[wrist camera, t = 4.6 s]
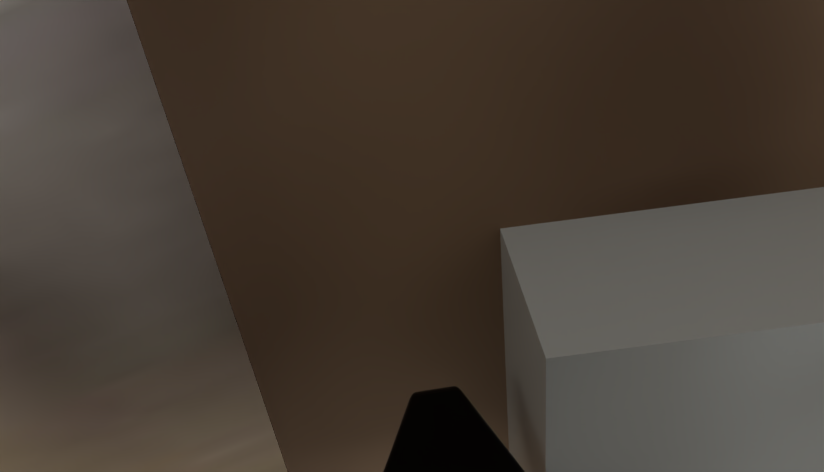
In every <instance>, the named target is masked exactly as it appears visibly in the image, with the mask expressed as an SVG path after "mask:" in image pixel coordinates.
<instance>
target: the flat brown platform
mask: <svg viewBox="0 0 824 472" xmlns="http://www.w3.org/2000/svg"><path fill="white" fill-rule="evenodd" d="M127 3H128V5H129V8H130V11H131V14H132V17H133V20H134V23H135V26H136V29H137V32H138V35H139V38H140V41H141V44H142V46H143V49H144V52H145V55H146V58H147V61H148V64H149V67H150V70H151V73H152V76H153V79H154V82H155V85H156V87H157V90H158V93H159V96H160V99H161V102H162V105H163V108H164V111H165V114H166V117H167V120H168V123H169V125H170V128H171V131H172V134H173V137H174V140H175V143H176V146H177V149H178V152H179V155H180V158H181V161H182V164H183V166H184V169H185V172H186V175H187V178H188V181H189V184H190V187H191V190H192V193H193V196H194V199H195V202H196V204H197V207H198V210H199V213H200V216H201V219H202V222H203V225H204V228H205V231H206V234H207V237H208V240H209V243H210V245H211V248H212V251H213V254H214V257H215V260H216V263H217V266H218V269H219V272H220V275H221V278H222V281H223V284H224V286H225V289H226V292H227V295H228V298H229V301H230V304H231V307H232V310H233V313H234V316H235V319H236V322H237V324H238V327H239V330H240V333H241V336H242V339H243V342H244V345H245V348H246V351H247V354H248V357H249V360H250V363H251V365H252V368H253V371H254V374H255V377H256V380H257V383H258V386H259V389H260V392H261V395H262V398H263V401H264V404H265V406H266V409H267V412H268V415H269V418H270V421H271V424H272V427H273V430H274V433H275V436H276V439H277V442H278V444H279V447H280V450H281V453H282V456H283V459H284V462H285V465H286V468H287V471H288V472H383V471H384V468H385V466H386V463H387V460H388V457H389V455H390V452H391V449H392V446H393V443H394V441H395V438H396V435H397V432H398V430H399V427H400V424H401V421H402V418H403V416H404V413H405V410H406V407H407V405H408V402H409V399H410V397H411V395H412V394H413V393H414V392H419V391H425V390H432V389H438V388H445V387H451V386H456V387H458V388H460V389H461V390H462V392H463V393H464V394H465V396H466V397H467V398H468V399H469V401H470V402H471V403H472V405H473V406H474V407H475V408H476V410H477V411H478V412H479V413H480V415H481V416H482V417H483V419H484V420H485V421H486V422H487V424H488V425H489V426H490V428H491V429H492V430H493V431H494V433H495V434H496V435H497V437H498V438H499V439H500V440H501V442H502V443H503V444H504V446H505V447H506V448H507V449H508V451H509V439H508V414H507V390H506V365H505V340H504V315H503V290H502V265H501V241H500V229H501V228H508V227H516V226H524V225H532V224H539V223H547V222H555V221H563V220H571V219H578V218H586V217H594V216H602V215H609V214H617V213H625V212H633V211H640V210H648V209H656V208H664V207H672V206H679V205H687V204H695V203H703V202H710V201H718V200H726V199H734V198H742V197H749V196H757V195H765V194H773V193H780V192H788V191H796V190H804V189H811V188H819V187H824V0H127Z"/></svg>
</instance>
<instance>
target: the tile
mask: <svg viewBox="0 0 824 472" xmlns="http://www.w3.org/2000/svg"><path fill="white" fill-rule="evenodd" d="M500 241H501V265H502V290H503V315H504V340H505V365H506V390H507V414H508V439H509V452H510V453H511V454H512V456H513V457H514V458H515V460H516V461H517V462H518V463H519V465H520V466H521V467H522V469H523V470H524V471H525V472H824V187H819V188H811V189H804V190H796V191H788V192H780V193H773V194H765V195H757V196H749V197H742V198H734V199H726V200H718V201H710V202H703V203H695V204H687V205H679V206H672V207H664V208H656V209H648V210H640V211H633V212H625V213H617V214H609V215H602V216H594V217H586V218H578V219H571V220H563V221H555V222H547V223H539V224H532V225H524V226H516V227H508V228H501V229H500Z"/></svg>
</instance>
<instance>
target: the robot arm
mask: <svg viewBox="0 0 824 472" xmlns="http://www.w3.org/2000/svg"><path fill="white" fill-rule="evenodd" d="M383 472H525V471H524V470H523V469H522V467H521V466H520V465H519V463H518V462H517V461H516V460H515V458H514V457H513V456H512V454H511V453H510V452H509V451H508V449H507V448H506V447H505V446H504V444H503V443H502V442H501V440H500V439H499V438H498V437H497V435H496V434H495V433H494V431H493V430H492V429H491V428H490V426H489V425H488V424H487V422H486V421H485V420H484V419H483V417H482V416H481V415H480V413H479V412H478V411H477V410H476V408H475V407H474V406H473V405H472V403H471V402H470V401H469V399H468V398H467V397H466V396H465V394H464V393H463V392H462V390H461V389H460V388H458V387H456V386H451V387H445V388H438V389H432V390H425V391H419V392H414V393H413V394H412V395H411V397H410V399H409V402H408V405H407V407H406V410H405V413H404V416H403V418H402V421H401V424H400V427H399V430H398V432H397V435H396V438H395V441H394V443H393V446H392V449H391V452H390V455H389V457H388V460H387V463H386V466H385V468H384V471H383Z"/></svg>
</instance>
